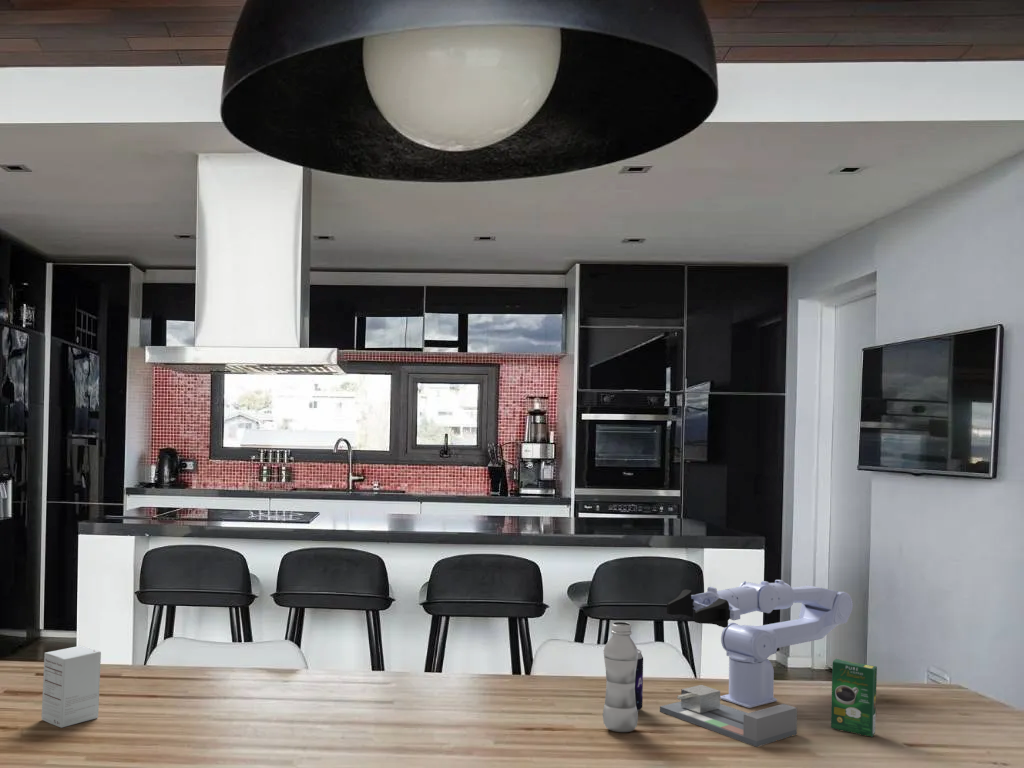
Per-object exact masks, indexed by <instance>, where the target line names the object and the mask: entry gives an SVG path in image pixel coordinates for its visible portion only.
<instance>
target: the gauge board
mask: <svg viewBox="0 0 1024 768" xmlns="http://www.w3.org/2000/svg"><path fill="white" fill-rule="evenodd" d="M659 712H660V713H662V714H666V715H669V716H671V717H674V718H677V719H679V720H683V721H685V722H688V723H691V724H693V725H696V726H699V727H701V728H704V729H707V730H710V731H712V732H715V733H718V734H721V735H723V736H726V737H729V738H731V739H734V740H737V741H740V742H743V743H745V744H747V745H751V746H753V747H756V748H758V747H761V746H764V745H768V744H771V743H775V742H777V741H776V740H778V741H781V740H784V739H787V738H786V737H788V738H790V737H789V736H791V737H793V736H792V735H794V736H797V735H798V707H796V706H792V705H789V704H787V703H782V704H778V705H773V706H770V707H767V708H762V709H759V710H755V711H751V712H746V711H743V710H740V709H738V708H737V709H736V708H734V707H731V706H728V705H725V704H722V703H720V709H716V710H712V711H708V712H704V713H697V712H694V711H692V710H689V709H686V708H683V707H681V701H676V702H673V703H668V704H664V705H660V706H659ZM796 734H797V735H796ZM783 738H784V739H783ZM780 739H781V740H780Z"/></svg>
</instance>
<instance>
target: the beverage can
mask: <svg viewBox="0 0 1024 768" xmlns="http://www.w3.org/2000/svg"><path fill="white" fill-rule="evenodd" d="M637 650H638V658H637V659H638V660H637V667H636V675H635V698H636V707H637V712H638V713H639V711H640V710H642V709H643V704H644V703H643V697H644V696H643V692H644V689H643V688H644V657H643V654H642V650H641V649H638V648H637Z"/></svg>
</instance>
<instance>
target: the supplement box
mask: <svg viewBox="0 0 1024 768" xmlns="http://www.w3.org/2000/svg"><path fill="white" fill-rule="evenodd" d="M43 656H44V658H43V678H42V679H43V680H42V681H43V682H42V701H41V720H42V721H44V722H46V723H48V724H50V725H53V726H55V727H59V728H61V729H62V728H66V727H69V726H73V725H76V724H80V723H84V722H88V721H91V720H95V719H98V718H99V710H100V709H99V705H100V685H101V683H100V681H101V662H102V661H101V659H102V652H101V651H100V650H97V649H94V648H91V647H88V646H83V645H77V646H73V647H68V648H67V647H66V648H62V649H57V650H51V651H47V652H44V655H43Z"/></svg>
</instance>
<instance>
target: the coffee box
mask: <svg viewBox="0 0 1024 768" xmlns="http://www.w3.org/2000/svg"><path fill="white" fill-rule="evenodd" d="M831 672H832V674H831V702H830V703H831V705H830V706H831V709H830V710H831V713H830V729H833V728H834V730H837V729H838V730H837V731H840V730H843V731H842V732H847V733H851V732H852V733H851V734H856V733H857V735H860V734H861V736H863V735H866V736H867V737H869V736H871V738H873V737H874V736H873V735H875V734H876V717H877V715H876V713H877V711H876V709H877V681H878V680H877V678H878V677H877V675H878V673H877V672H878V666H876V665H870V664H865V663H860V662H854V661H850V660H849V661H848V660H844V659H839V658H835V659H834V660H832V671H831Z"/></svg>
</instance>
